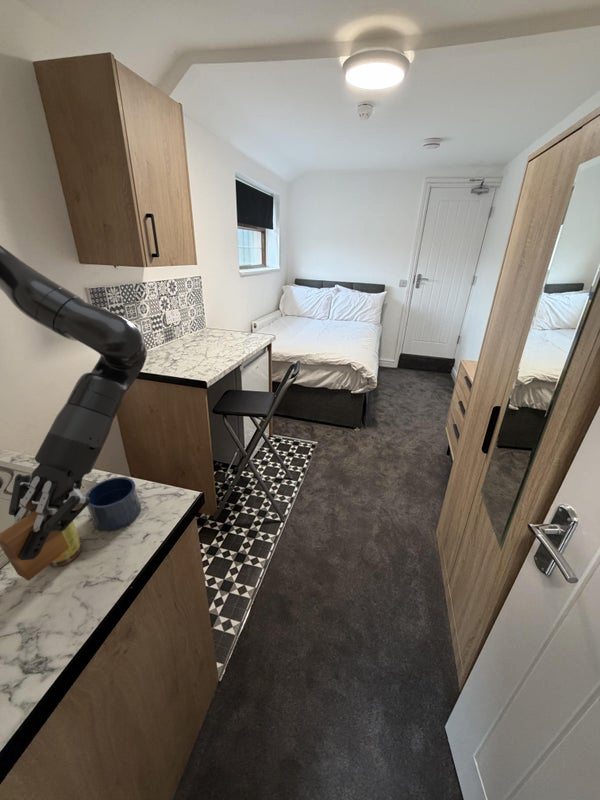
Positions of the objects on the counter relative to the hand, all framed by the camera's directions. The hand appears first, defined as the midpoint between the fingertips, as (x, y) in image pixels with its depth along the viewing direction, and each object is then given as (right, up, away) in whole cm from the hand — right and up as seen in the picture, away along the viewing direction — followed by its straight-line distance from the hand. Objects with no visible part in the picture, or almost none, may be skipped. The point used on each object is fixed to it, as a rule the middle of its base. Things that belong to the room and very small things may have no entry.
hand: (19, 554), depth 46 cm
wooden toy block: (+1, -3, +4) cm, 5 cm away
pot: (-3, -5, +31) cm, 31 cm away
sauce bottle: (-8, -10, +21) cm, 25 cm away
